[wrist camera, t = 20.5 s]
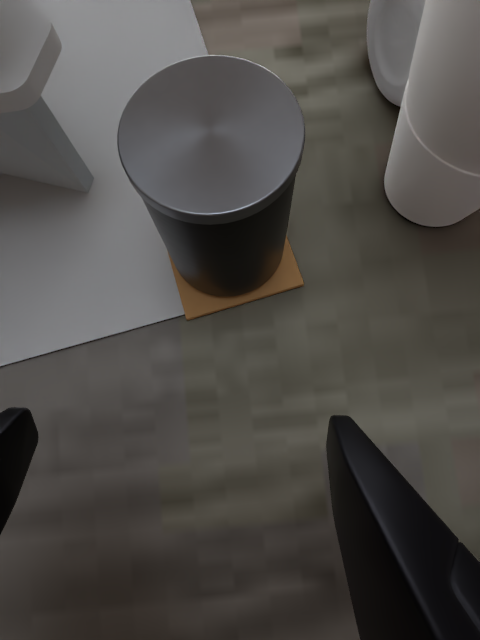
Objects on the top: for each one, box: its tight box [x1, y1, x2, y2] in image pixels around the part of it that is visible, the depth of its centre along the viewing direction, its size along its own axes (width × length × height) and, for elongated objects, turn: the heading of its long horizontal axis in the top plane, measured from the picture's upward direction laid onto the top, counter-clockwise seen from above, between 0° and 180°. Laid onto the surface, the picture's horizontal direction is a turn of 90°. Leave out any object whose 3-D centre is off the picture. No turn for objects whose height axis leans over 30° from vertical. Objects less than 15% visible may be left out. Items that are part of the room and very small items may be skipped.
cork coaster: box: [167, 235, 304, 320], centre depth 21 cm, size 6×6×1 cm
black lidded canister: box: [117, 55, 305, 297], centre depth 16 cm, size 6×6×8 cm
